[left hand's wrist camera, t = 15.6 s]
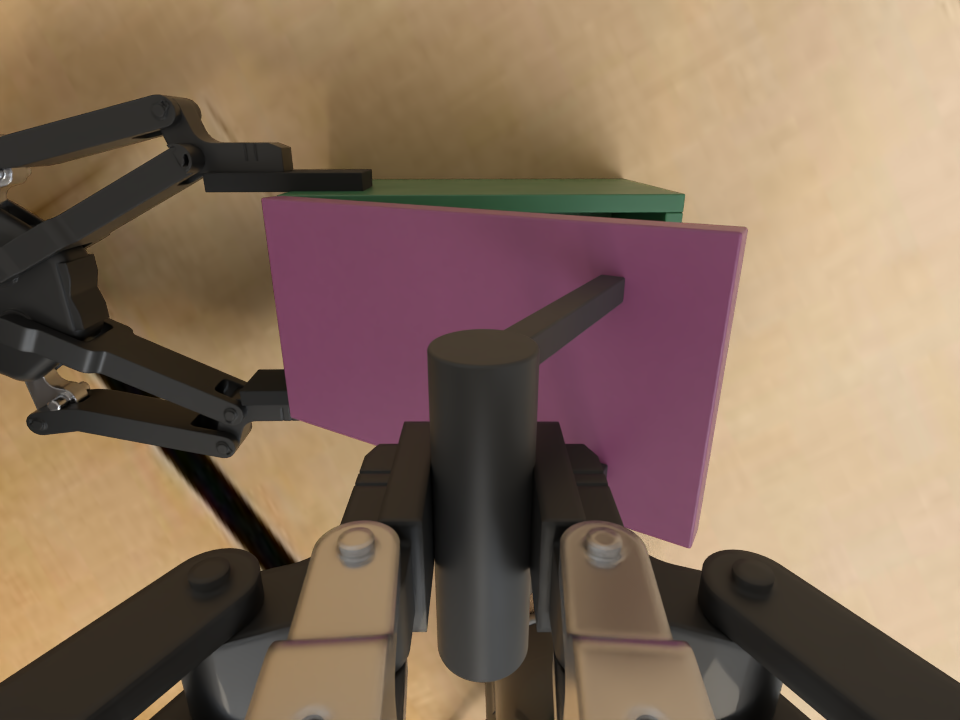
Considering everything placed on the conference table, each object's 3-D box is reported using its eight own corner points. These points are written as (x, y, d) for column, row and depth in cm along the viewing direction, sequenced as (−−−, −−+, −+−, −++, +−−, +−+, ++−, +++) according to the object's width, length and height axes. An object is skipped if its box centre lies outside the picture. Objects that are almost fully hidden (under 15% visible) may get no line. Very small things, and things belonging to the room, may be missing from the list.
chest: (623, 178, 31) (685, 193, 22) (610, 336, 34) (659, 403, 26) (329, 179, 31) (276, 195, 22) (344, 339, 34) (302, 407, 25)
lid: (748, 226, 14) (655, 317, 7) (697, 530, 17) (599, 801, 10) (282, 195, 22) (14, 222, 15) (308, 408, 25) (99, 514, 18)
